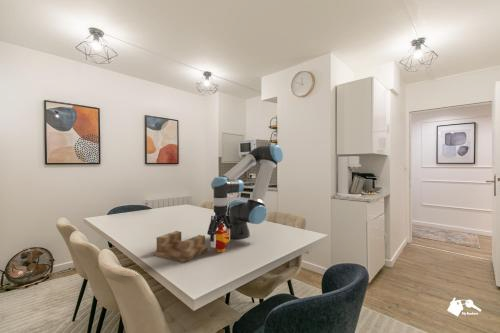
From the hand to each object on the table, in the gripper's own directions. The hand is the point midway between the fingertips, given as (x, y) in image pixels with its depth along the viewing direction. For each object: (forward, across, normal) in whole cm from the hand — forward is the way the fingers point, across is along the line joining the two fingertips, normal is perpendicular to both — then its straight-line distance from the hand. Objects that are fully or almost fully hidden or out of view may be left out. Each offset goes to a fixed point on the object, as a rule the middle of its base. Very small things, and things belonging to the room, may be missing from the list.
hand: (220, 243), depth 131 cm
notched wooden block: (+4, +13, -17) cm, 22 cm away
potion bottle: (+4, 0, 0) cm, 4 cm away
